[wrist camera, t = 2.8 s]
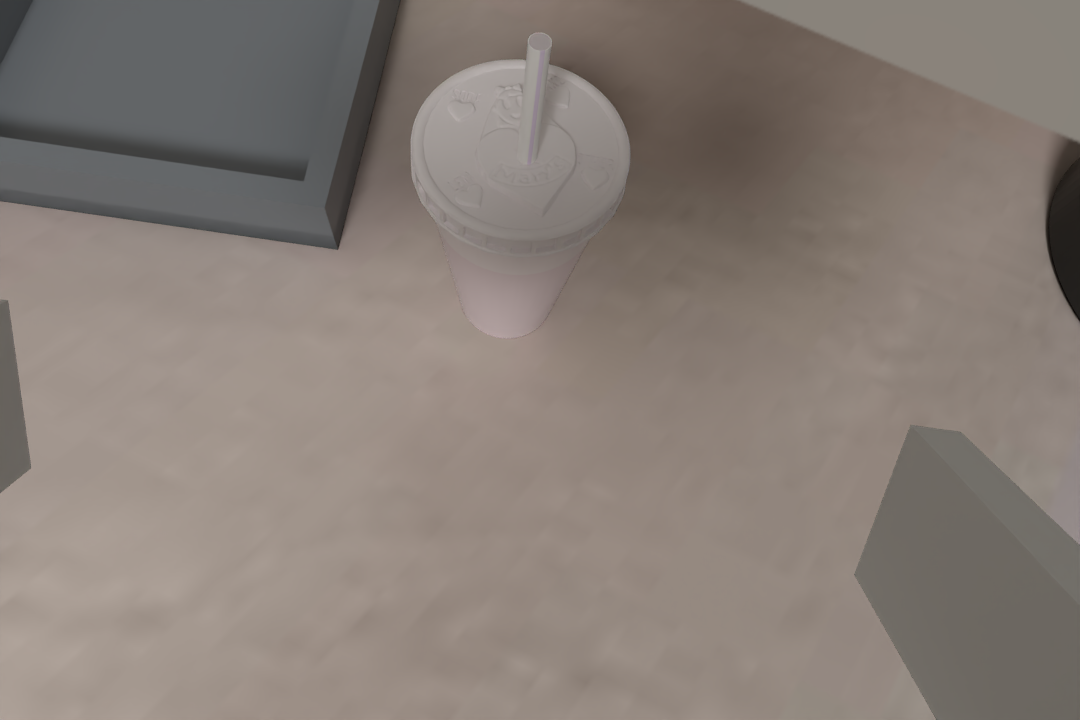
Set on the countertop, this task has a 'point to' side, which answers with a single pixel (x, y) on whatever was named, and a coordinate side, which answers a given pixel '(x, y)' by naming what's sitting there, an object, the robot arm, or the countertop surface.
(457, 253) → the smoothie
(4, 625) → the countertop surface
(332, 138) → the tray
